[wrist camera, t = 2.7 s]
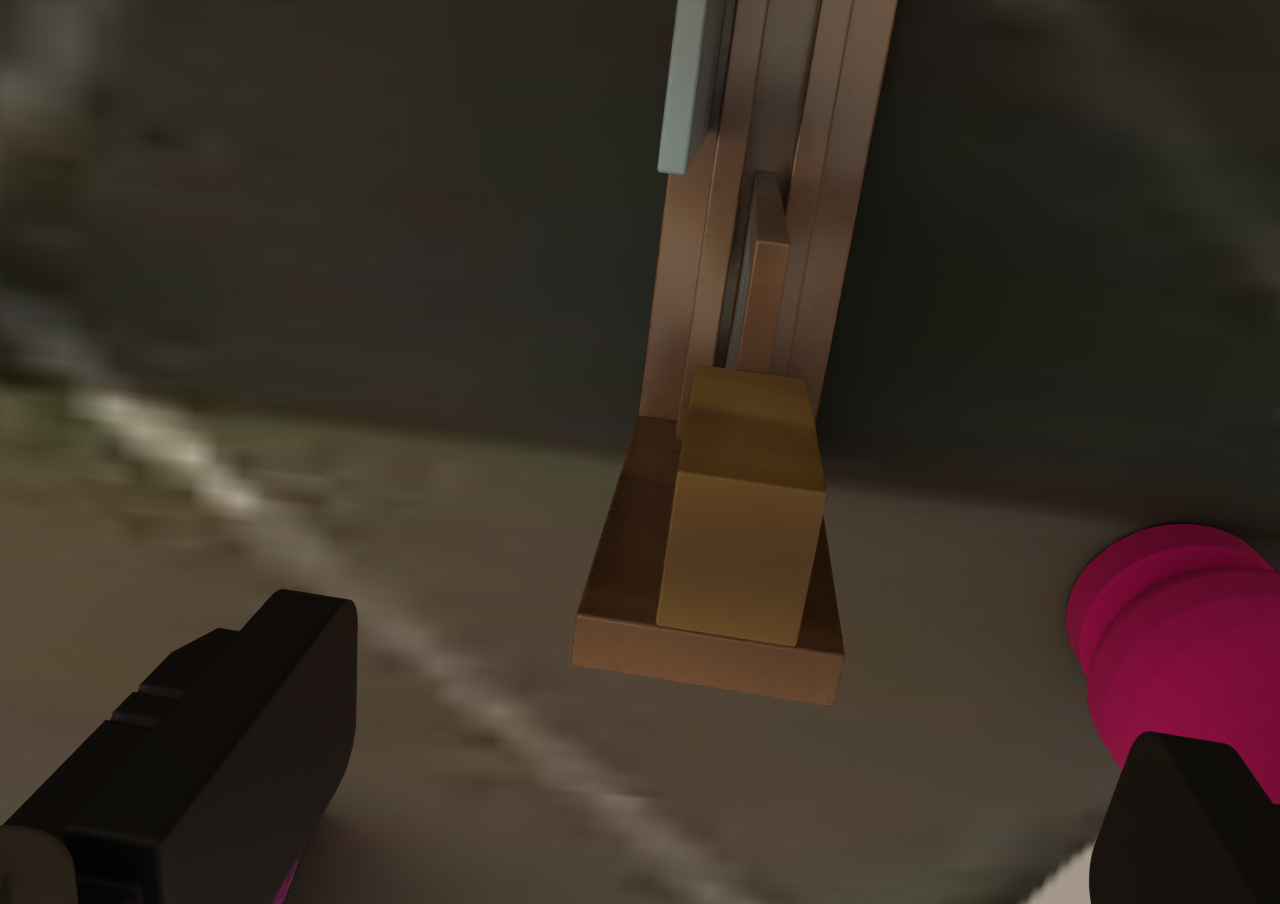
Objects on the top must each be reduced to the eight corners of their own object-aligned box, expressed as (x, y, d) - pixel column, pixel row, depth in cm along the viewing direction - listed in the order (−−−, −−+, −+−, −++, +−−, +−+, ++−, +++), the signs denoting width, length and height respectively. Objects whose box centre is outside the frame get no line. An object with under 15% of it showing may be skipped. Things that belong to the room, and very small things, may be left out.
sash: (760, 421, 30) (769, 779, 15) (693, 411, 30) (635, 758, 15) (803, 176, 27) (863, 323, 12) (728, 167, 27) (701, 300, 12)
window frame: (802, 459, 32) (834, 708, 20) (638, 434, 32) (570, 666, 20) (932, -213, 25) (1101, -463, 13) (722, -236, 25) (694, -502, 13)
